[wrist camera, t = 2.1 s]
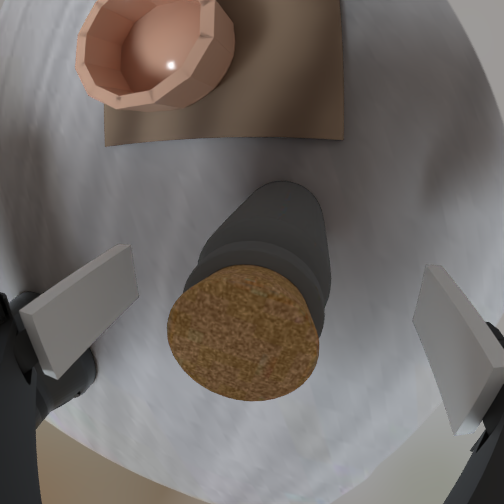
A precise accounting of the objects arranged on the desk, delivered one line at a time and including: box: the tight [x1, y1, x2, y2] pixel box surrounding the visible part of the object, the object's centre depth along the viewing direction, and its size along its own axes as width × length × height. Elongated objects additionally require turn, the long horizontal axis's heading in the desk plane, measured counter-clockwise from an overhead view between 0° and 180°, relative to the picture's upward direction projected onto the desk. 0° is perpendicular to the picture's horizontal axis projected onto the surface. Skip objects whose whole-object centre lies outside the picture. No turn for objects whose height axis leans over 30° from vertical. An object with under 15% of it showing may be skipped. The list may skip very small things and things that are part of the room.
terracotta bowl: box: [75, 0, 236, 112], centre depth 16 cm, size 10×10×5 cm
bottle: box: [167, 181, 331, 401], centre depth 16 cm, size 6×6×15 cm
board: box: [104, 0, 344, 147], centre depth 19 cm, size 18×12×1 cm, turn 90°
